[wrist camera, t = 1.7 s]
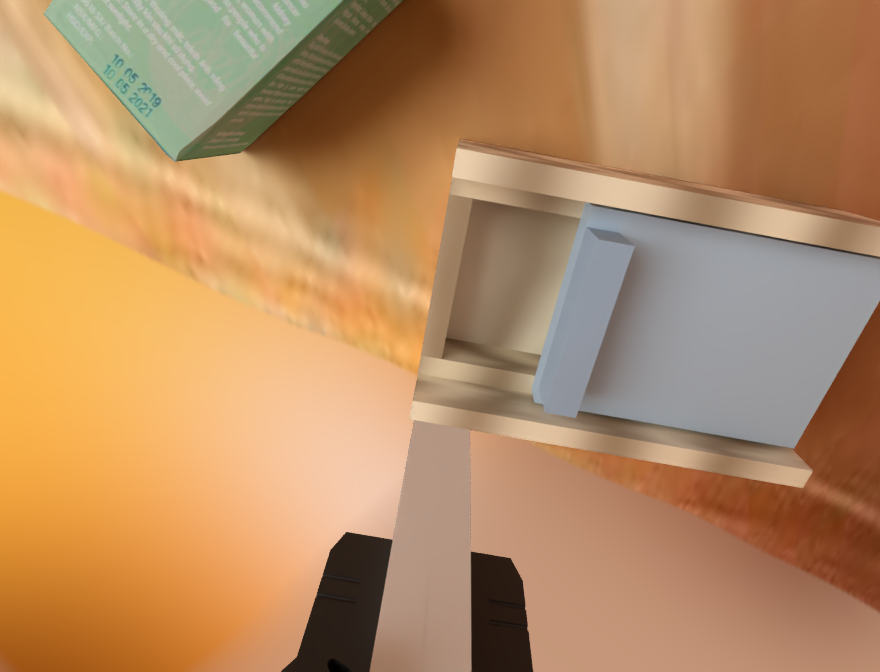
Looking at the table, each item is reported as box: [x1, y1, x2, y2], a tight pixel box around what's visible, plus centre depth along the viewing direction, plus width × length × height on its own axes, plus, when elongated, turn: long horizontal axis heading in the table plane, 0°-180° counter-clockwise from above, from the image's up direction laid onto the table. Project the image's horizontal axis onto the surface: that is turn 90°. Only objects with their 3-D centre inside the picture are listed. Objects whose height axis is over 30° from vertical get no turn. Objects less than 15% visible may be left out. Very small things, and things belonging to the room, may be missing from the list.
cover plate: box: [531, 202, 880, 449], centre depth 25 cm, size 15×11×4 cm
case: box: [410, 139, 880, 488], centre depth 28 cm, size 22×14×7 cm, turn 80°
